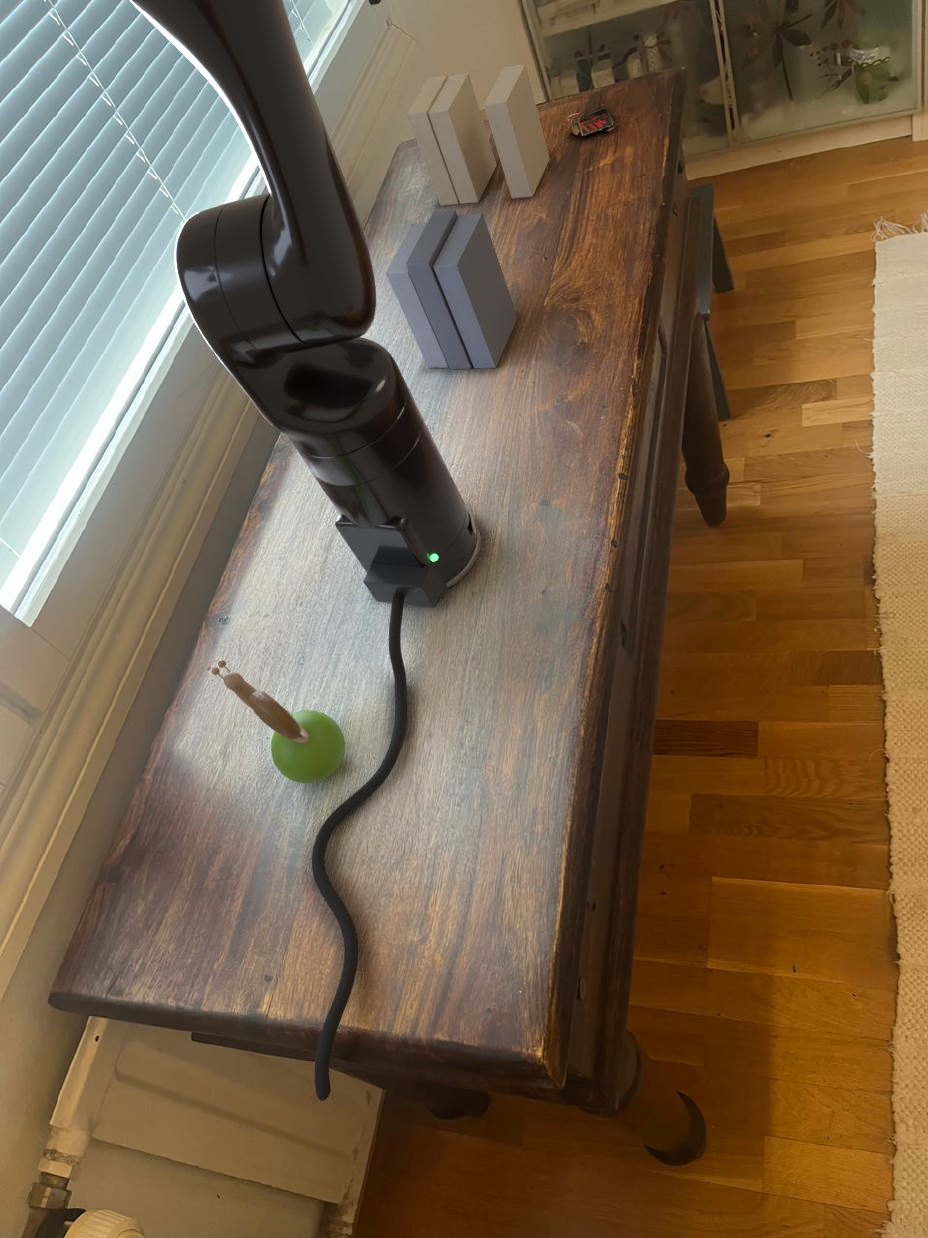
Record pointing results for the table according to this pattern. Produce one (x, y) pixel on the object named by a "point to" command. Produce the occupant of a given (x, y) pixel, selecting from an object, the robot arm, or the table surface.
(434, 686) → the table surface
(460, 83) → the cream books
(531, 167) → the cream book
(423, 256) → the grey books
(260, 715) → the snail figurine
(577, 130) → the black red flat piece
